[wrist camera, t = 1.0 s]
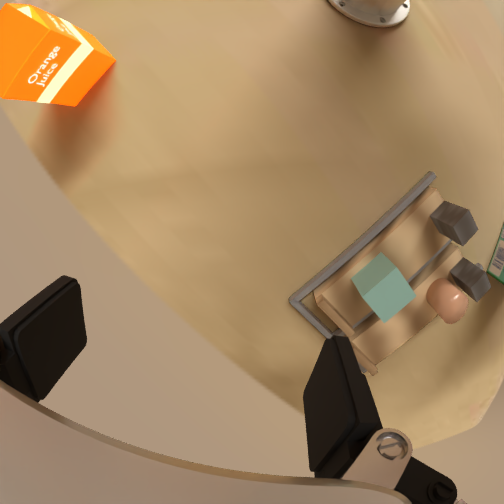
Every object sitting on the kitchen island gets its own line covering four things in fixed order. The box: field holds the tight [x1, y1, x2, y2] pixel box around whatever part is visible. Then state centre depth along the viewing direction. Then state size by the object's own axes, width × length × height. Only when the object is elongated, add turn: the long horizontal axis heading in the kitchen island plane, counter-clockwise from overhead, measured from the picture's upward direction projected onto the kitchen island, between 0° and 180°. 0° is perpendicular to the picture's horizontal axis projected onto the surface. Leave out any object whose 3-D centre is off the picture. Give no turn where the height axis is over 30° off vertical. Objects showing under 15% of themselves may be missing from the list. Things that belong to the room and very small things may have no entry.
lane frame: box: [289, 171, 483, 373], centre depth 36 cm, size 26×18×1 cm
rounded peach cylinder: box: [426, 278, 468, 324], centre depth 32 cm, size 4×4×5 cm
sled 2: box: [344, 243, 491, 376], centre depth 34 cm, size 21×7×8 cm, turn 134°
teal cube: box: [351, 252, 416, 323], centre depth 32 cm, size 5×5×5 cm
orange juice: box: [0, 3, 116, 107], centre depth 20 cm, size 8×9×20 cm
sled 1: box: [313, 186, 478, 337], centre depth 32 cm, size 21×7×8 cm, turn 134°
